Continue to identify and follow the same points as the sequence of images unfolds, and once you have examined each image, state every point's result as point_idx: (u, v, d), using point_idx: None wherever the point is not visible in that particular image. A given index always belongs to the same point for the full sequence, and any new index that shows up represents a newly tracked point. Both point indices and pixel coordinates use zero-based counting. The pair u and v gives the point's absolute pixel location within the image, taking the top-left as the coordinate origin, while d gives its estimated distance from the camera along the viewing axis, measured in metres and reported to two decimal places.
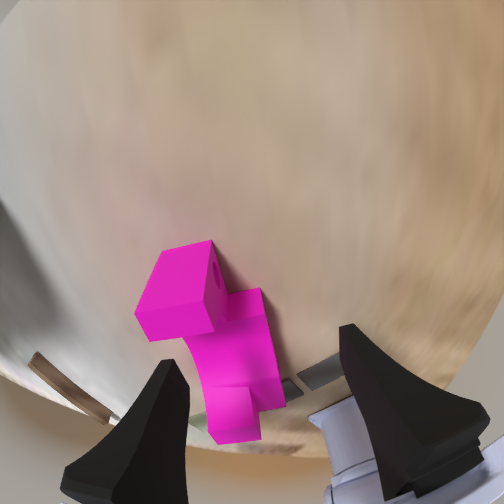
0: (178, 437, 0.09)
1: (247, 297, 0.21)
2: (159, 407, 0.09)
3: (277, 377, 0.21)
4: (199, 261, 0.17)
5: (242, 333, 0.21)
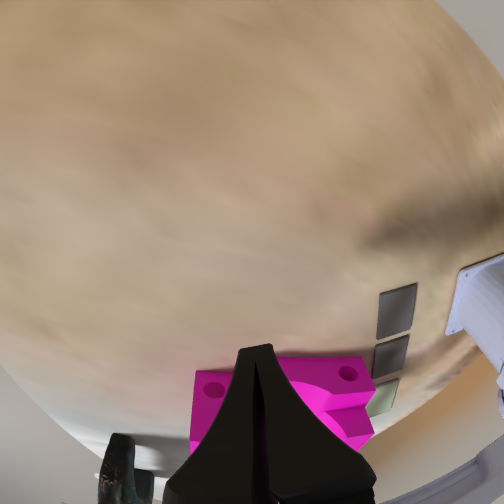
0: (265, 429, 0.09)
1: None
2: (255, 398, 0.09)
3: (330, 393, 0.20)
4: None
5: None
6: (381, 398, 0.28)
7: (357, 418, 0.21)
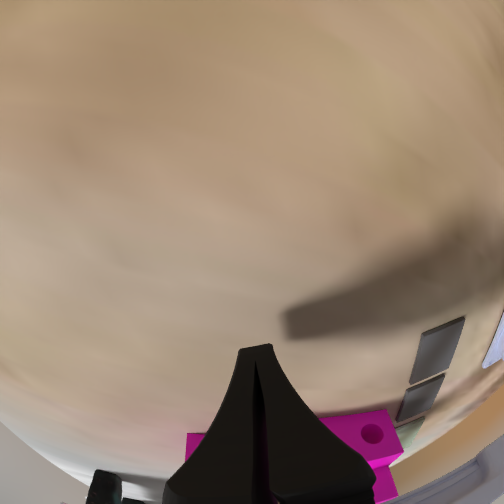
0: (265, 429, 0.09)
1: None
2: (255, 398, 0.09)
3: None
4: None
5: None
6: (403, 437, 0.21)
7: (379, 480, 0.14)
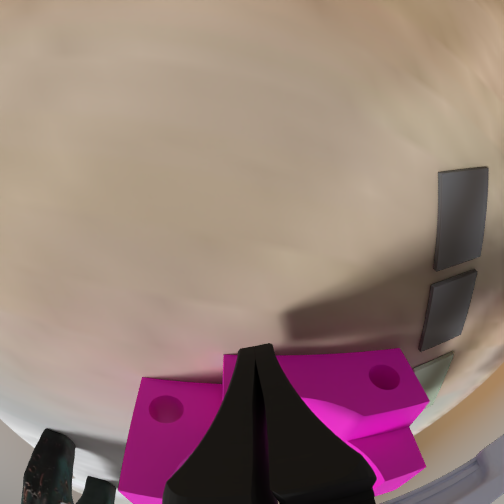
0: (264, 429, 0.09)
1: None
2: (255, 398, 0.09)
3: (357, 414, 0.11)
4: None
5: None
6: (426, 386, 0.17)
7: (399, 446, 0.11)
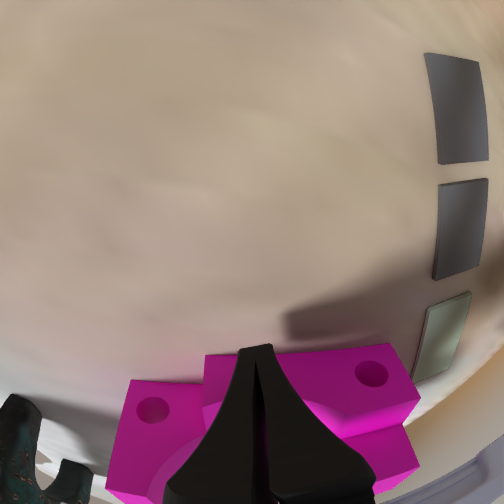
0: (265, 429, 0.09)
1: None
2: (255, 398, 0.09)
3: (341, 413, 0.11)
4: None
5: None
6: (442, 337, 0.15)
7: (391, 445, 0.11)
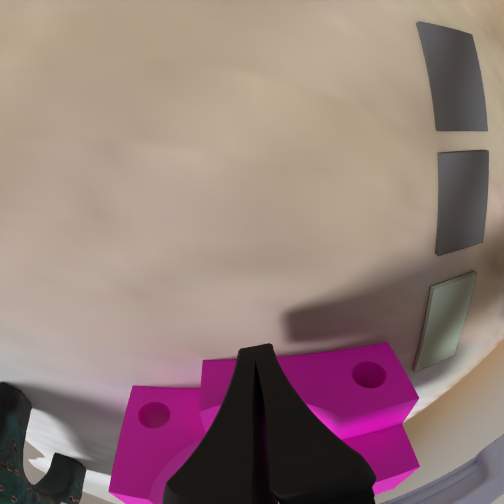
0: (265, 429, 0.09)
1: None
2: (255, 397, 0.09)
3: (337, 416, 0.11)
4: None
5: None
6: (447, 320, 0.14)
7: (390, 445, 0.11)
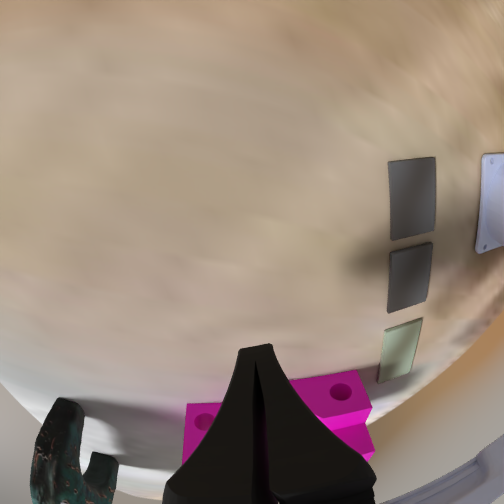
0: (265, 429, 0.09)
1: None
2: (255, 398, 0.09)
3: (319, 417, 0.19)
4: None
5: None
6: (399, 350, 0.21)
7: (356, 436, 0.19)
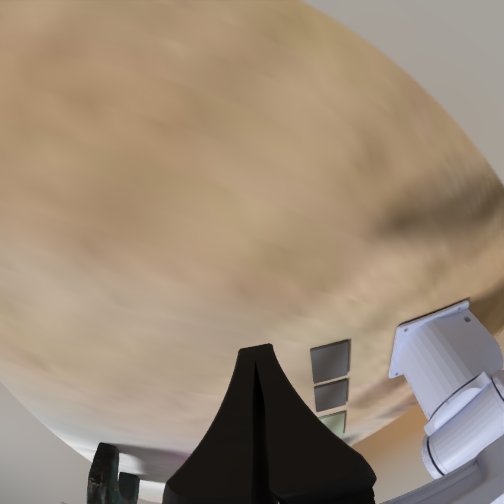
0: (265, 429, 0.09)
1: None
2: (255, 397, 0.09)
3: None
4: None
5: None
6: (330, 426, 0.31)
7: None
